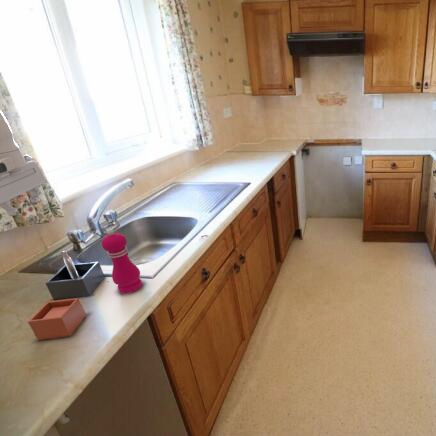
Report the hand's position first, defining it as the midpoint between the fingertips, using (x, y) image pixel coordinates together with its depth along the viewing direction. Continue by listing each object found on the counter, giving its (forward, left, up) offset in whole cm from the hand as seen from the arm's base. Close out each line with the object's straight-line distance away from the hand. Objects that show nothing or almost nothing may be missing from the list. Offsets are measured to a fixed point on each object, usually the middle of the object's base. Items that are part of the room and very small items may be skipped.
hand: (25, 208), depth 95 cm
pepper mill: (+26, -10, -25) cm, 38 cm away
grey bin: (+10, -7, -25) cm, 28 cm away
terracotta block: (+15, -25, -25) cm, 38 cm away
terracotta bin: (+15, -25, -25) cm, 38 cm away
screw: (+10, -7, -25) cm, 28 cm away
